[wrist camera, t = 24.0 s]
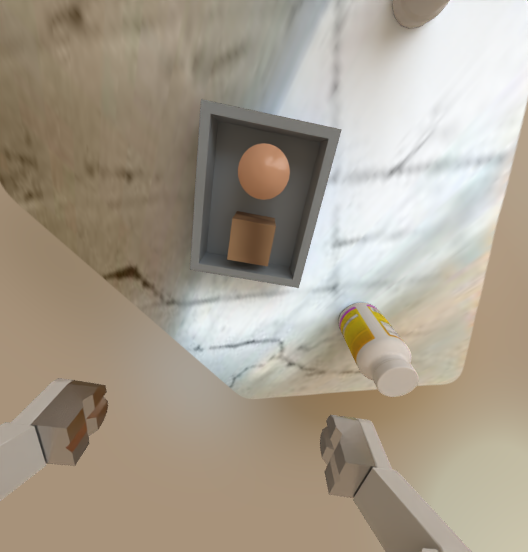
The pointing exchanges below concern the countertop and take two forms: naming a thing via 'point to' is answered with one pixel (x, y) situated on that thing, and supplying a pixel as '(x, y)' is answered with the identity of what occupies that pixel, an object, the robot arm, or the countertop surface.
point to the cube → (251, 238)
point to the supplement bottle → (378, 349)
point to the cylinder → (263, 171)
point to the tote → (232, 197)
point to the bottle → (417, 11)
